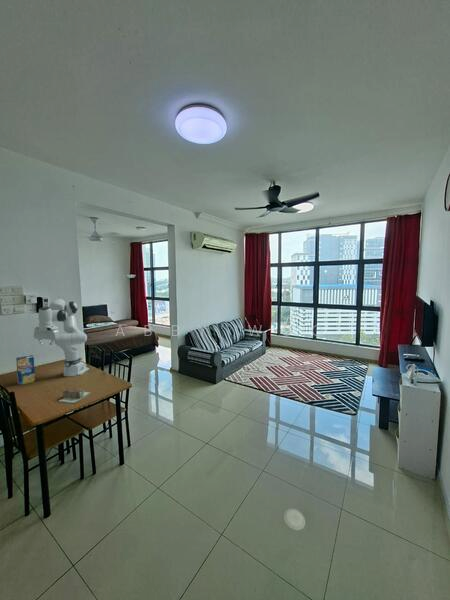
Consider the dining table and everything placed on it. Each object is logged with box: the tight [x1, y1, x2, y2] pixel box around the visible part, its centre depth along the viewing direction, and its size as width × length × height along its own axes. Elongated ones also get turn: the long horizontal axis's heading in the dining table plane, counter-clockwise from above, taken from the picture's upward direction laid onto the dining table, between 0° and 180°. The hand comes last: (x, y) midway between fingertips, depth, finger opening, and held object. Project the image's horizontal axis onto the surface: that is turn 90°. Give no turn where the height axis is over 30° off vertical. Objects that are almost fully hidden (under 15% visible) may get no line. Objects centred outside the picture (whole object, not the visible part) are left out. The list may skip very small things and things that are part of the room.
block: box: [62, 387, 85, 399], centre depth 183 cm, size 5×5×14 cm
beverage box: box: [16, 354, 36, 386], centre depth 208 cm, size 7×11×22 cm, turn 136°
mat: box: [57, 391, 92, 404], centre depth 184 cm, size 16×14×1 cm
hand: (46, 344), depth 193 cm, fingers open, 8 cm apart
